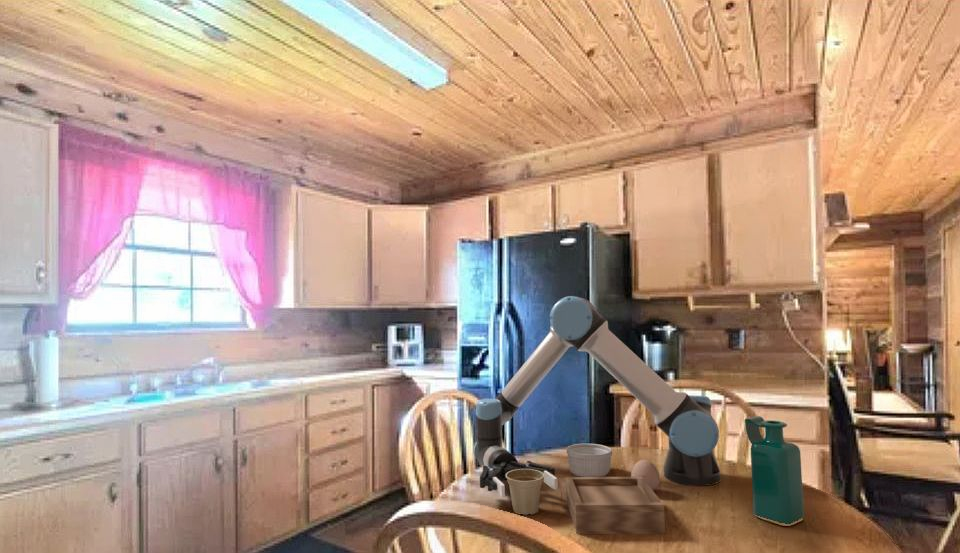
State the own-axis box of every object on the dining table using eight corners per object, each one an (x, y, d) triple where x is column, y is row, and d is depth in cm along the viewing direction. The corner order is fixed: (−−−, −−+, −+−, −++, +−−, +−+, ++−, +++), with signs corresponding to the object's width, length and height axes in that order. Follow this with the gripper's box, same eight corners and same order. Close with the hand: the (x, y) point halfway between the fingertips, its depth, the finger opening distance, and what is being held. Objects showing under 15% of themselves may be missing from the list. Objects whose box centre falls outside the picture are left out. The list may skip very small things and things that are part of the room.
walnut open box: (642, 503, 133) (641, 476, 134) (665, 535, 114) (663, 504, 115) (566, 503, 134) (565, 477, 134) (576, 535, 115) (575, 505, 116)
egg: (656, 499, 135) (654, 465, 135) (628, 494, 139) (627, 461, 139) (663, 490, 141) (661, 458, 141) (636, 485, 145) (635, 454, 145)
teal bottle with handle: (807, 520, 120) (802, 421, 121) (787, 529, 115) (782, 426, 116) (765, 507, 128) (760, 414, 129) (744, 515, 123) (740, 419, 125)
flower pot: (543, 519, 123) (542, 481, 124) (503, 517, 125) (502, 480, 126) (546, 504, 132) (545, 469, 133) (509, 502, 134) (508, 468, 135)
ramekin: (605, 465, 164) (605, 442, 164) (618, 479, 151) (617, 454, 151) (563, 466, 163) (562, 443, 164) (572, 480, 150) (571, 455, 151)
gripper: (542, 471, 150) (577, 497, 129) (457, 482, 142) (480, 510, 122) (541, 444, 150) (576, 465, 130) (456, 453, 143) (479, 477, 123)
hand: (530, 487), depth 126 cm, fingers open, 13 cm apart
